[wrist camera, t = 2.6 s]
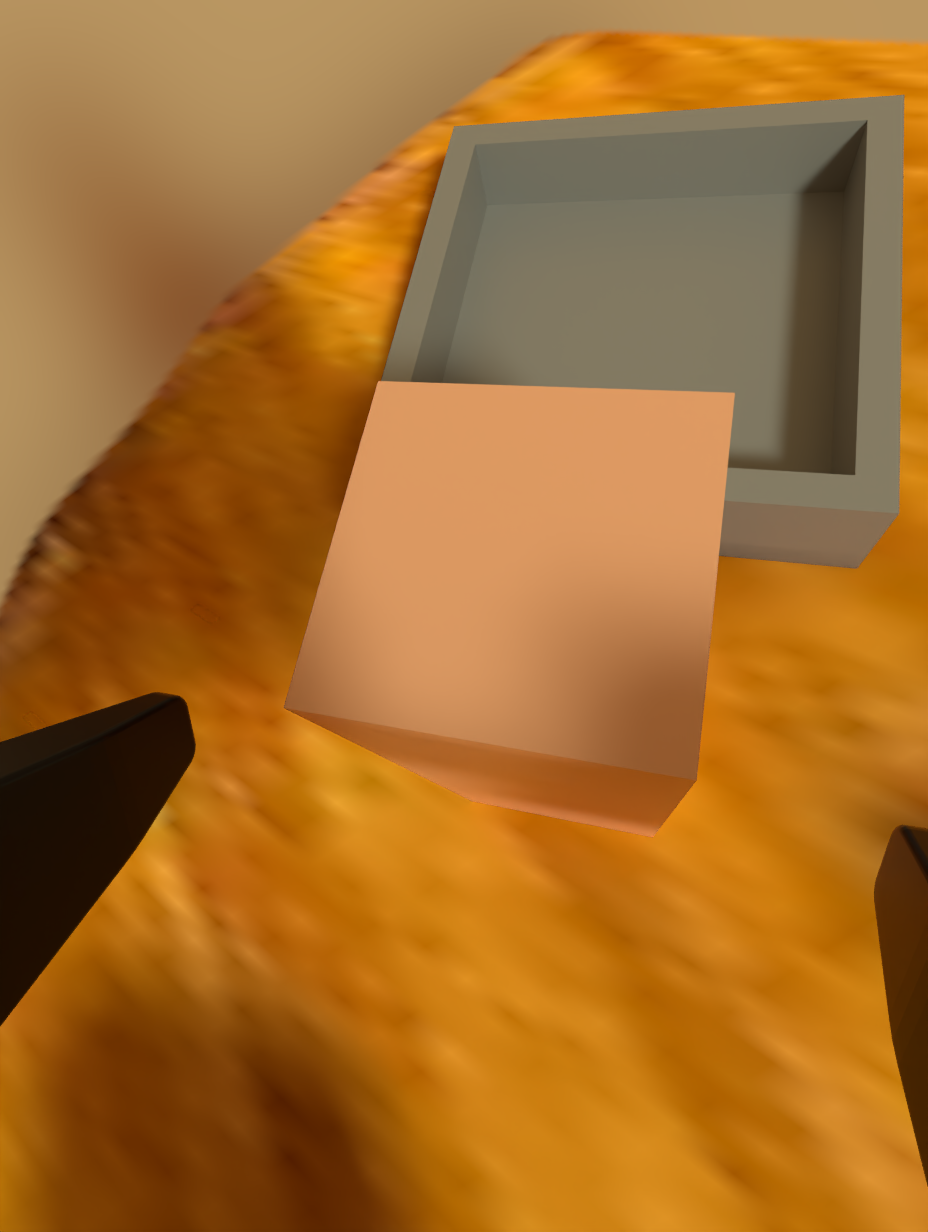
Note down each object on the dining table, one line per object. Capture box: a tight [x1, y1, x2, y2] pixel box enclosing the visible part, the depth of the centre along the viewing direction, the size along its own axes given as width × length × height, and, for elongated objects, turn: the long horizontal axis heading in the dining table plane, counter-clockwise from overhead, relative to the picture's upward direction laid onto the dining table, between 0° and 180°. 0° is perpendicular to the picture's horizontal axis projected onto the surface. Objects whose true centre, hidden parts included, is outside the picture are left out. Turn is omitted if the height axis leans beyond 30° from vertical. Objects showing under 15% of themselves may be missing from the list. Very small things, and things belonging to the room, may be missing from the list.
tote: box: [381, 95, 904, 568], centre depth 20 cm, size 13×13×3 cm
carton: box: [284, 381, 735, 837], centre depth 13 cm, size 5×5×11 cm
